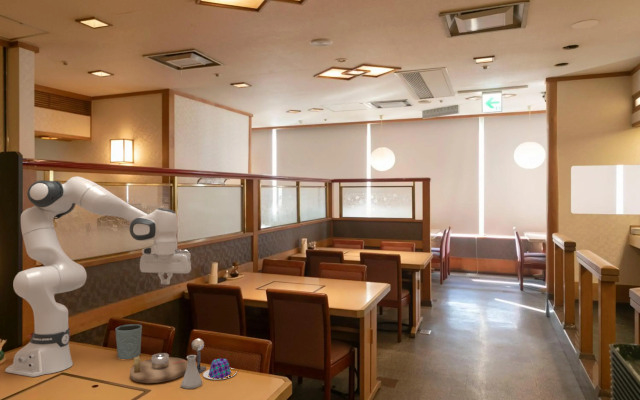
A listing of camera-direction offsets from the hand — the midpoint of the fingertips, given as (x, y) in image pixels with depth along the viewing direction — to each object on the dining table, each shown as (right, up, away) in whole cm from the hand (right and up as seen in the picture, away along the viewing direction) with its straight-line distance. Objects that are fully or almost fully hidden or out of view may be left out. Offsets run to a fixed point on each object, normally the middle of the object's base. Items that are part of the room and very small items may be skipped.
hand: (165, 284), depth 176 cm
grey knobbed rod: (+16, -31, -9) cm, 36 cm away
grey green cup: (-17, -31, +6) cm, 36 cm away
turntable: (+2, -31, -13) cm, 33 cm away
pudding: (+25, -31, -13) cm, 42 cm away
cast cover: (+2, -28, -13) cm, 31 cm away
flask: (+17, -31, -23) cm, 42 cm away
